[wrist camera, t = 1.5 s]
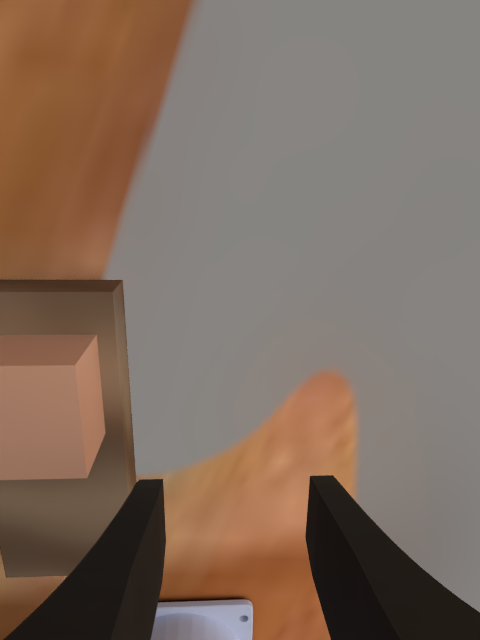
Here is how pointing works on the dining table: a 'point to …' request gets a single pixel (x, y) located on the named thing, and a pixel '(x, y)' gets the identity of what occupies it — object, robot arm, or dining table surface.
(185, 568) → the dining table surface
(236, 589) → the dining table surface
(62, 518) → the board
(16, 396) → the block
